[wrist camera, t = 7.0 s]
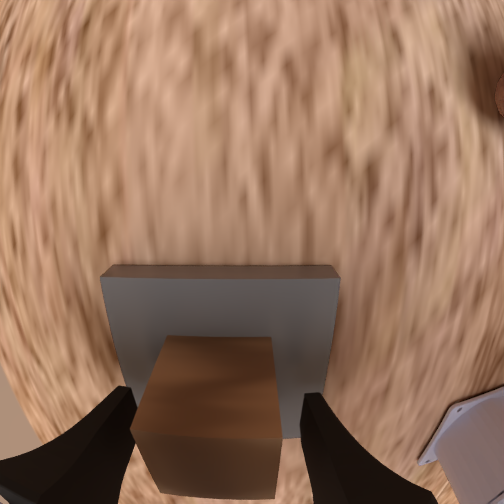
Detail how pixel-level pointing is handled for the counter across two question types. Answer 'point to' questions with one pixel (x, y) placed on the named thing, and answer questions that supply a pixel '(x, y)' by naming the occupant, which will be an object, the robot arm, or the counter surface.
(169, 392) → the walnut block
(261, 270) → the slate tile
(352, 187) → the counter surface
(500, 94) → the mushroom
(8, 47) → the counter surface
